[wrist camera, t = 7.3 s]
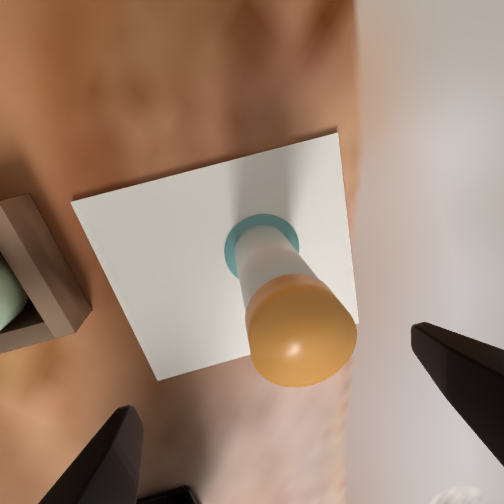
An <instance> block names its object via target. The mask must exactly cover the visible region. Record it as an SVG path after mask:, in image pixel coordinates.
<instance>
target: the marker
mask: <svg viewBox="0 0 504 504" xmlns="http://www.w3.org/2000/svg"><path fill="white" fill-rule="evenodd" d="M234 256H235V261H236V266H237V271H238V276H239V281H240V286H241V292H242V297H243V302H244V307H245V312H246V313H245V325H246V331H247V336H248V342H249V347H250V353H251V358H252V361H253V364H254V366H255V368H256V369H257V371H258V372H259V373H260V374H261V375H262V376H263V377H264V378H265V379H267V380H269V381H270V382H272V383H275V384H277V385H281V386H286V387H304V386H309V385H313V384H316V383H319V382H321V381H323V380H326V379H327V378H329V377H331V376H332V375H334V374H335V373H336V372H338V371H339V370H340V369H341V368H342V367H343V366H344V365H345V364H346V362H347V361H348V360H349V358H350V356H351V355H352V353H353V350H354V348H355V344H356V339H357V330H356V325H355V322H354V319H353V318H352V316H351V314H350V313H349V312H348V311H347V309H346V308H345V307H344V306H343V304H342V303H341V302H340V301H339V300H338V298H337V297H336V296H335V295H334V293H333V292H332V291H331V290H330V289H329V287H328V286H327V285H326V284H325V283H324V282H322V281H321V280H319V279H318V277H317V276H316V275H315V274H314V272H313V271H312V270H311V268H310V267H309V266H308V265H307V263H306V262H305V261H304V260H303V258H302V257H301V256H300V255H299V253H298V252H297V251H296V250H295V248H294V247H293V246H292V244H291V243H290V242H289V241H288V239H287V238H286V237H285V236H284V234H283V233H282V232H281V231H280V230H279V229H277V228H275V227H273V226H271V225H265V224H260V225H255V226H252V227H250V228H248V229H246V230H245V231H244V232H243V233H242V234H241V235H240V236H239V237H238V239H237V241H236V244H235V247H234Z"/></svg>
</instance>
